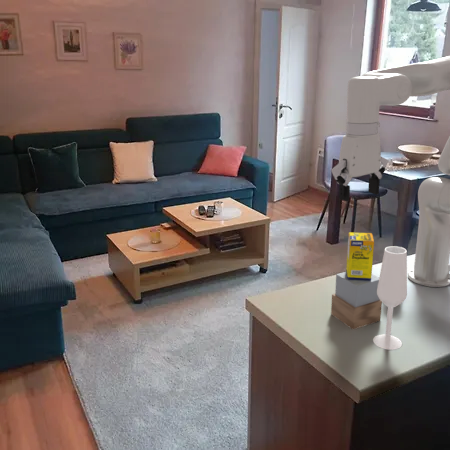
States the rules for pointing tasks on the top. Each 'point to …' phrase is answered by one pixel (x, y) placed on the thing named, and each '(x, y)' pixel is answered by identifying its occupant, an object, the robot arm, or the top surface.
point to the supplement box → (360, 256)
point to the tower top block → (356, 290)
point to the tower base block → (355, 312)
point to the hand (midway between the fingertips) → (359, 196)
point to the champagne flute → (392, 291)
